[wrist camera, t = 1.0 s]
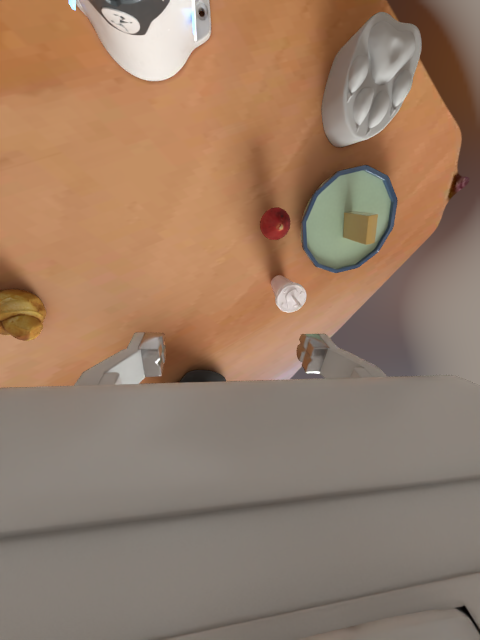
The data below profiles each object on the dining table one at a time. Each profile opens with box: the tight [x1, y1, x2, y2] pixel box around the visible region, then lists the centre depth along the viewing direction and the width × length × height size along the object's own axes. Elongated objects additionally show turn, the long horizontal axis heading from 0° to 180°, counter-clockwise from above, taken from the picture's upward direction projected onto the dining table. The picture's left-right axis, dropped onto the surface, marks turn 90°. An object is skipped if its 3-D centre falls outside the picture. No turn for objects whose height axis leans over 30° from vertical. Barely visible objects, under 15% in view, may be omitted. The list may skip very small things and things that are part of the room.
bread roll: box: [0, 289, 46, 341], centre depth 45 cm, size 13×10×8 cm
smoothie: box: [271, 275, 306, 312], centre depth 48 cm, size 6×6×14 cm
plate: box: [301, 165, 398, 273], centre depth 44 cm, size 20×20×9 cm
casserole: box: [178, 370, 226, 383], centre depth 66 cm, size 25×19×8 cm
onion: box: [260, 207, 290, 240], centre depth 44 cm, size 6×6×8 cm
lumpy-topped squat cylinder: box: [322, 12, 421, 147], centre depth 35 cm, size 10×13×9 cm
